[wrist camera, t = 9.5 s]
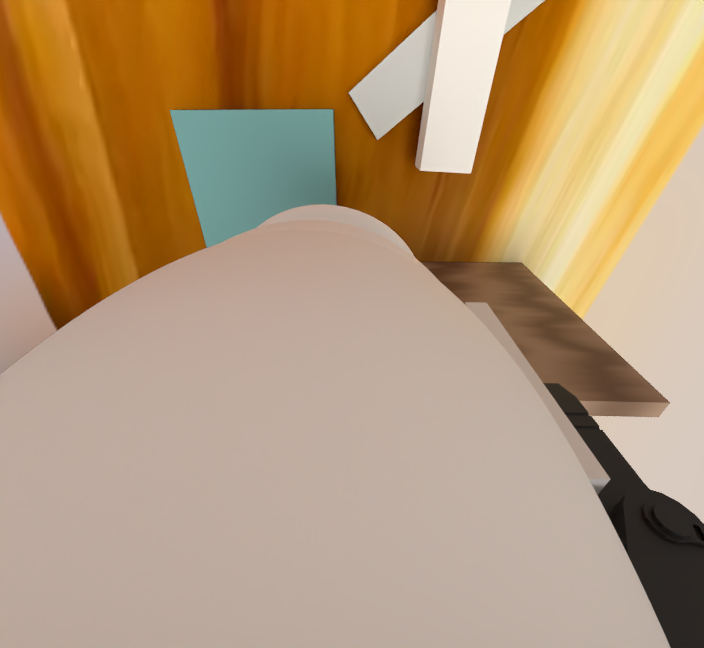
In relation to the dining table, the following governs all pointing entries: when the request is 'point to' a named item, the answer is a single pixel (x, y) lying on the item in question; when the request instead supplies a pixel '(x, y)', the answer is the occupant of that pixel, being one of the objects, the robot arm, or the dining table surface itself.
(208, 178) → the mat
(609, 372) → the wood grain panel
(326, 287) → the jar
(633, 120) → the dining table surface
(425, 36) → the offcut low
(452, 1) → the offcut top
